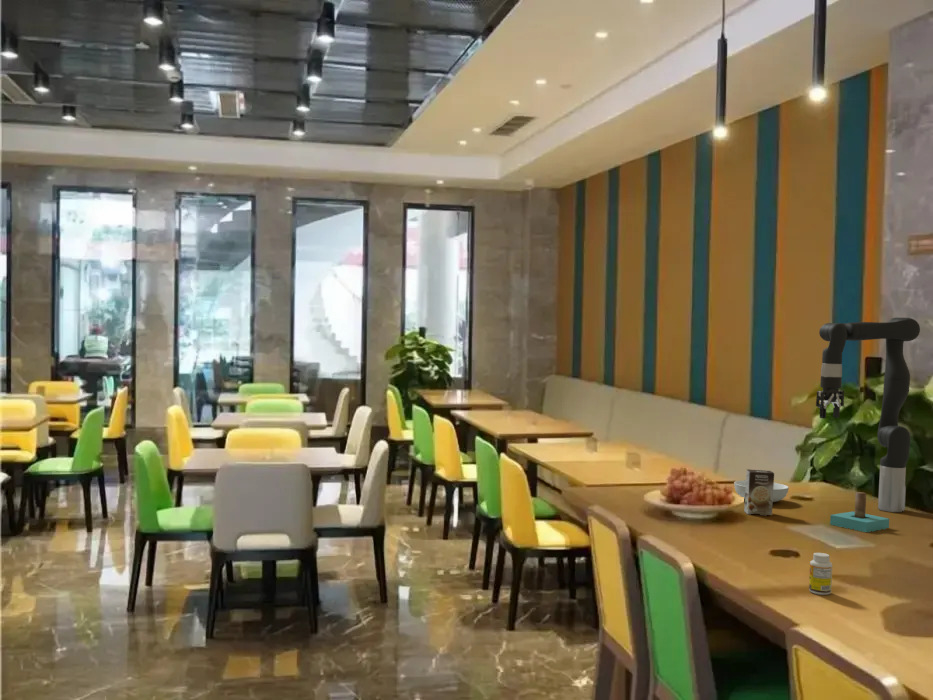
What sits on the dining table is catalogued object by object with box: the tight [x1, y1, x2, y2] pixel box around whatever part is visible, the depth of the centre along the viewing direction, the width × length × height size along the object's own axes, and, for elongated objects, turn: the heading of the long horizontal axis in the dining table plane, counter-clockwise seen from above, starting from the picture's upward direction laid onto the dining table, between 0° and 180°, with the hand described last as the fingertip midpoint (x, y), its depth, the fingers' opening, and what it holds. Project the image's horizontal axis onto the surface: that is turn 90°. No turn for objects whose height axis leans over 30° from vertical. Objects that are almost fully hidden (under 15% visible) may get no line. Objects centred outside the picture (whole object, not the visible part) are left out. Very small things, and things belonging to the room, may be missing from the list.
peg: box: [854, 491, 867, 519], centre depth 336 cm, size 4×4×12 cm
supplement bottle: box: [808, 552, 833, 596], centre depth 250 cm, size 6×6×10 cm
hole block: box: [829, 510, 890, 533], centre depth 336 cm, size 14×14×4 cm
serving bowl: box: [733, 479, 789, 503], centre depth 379 cm, size 21×21×7 cm
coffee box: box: [743, 468, 775, 516], centre depth 354 cm, size 9×6×16 cm
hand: (829, 417), depth 360 cm, fingers open, 8 cm apart
